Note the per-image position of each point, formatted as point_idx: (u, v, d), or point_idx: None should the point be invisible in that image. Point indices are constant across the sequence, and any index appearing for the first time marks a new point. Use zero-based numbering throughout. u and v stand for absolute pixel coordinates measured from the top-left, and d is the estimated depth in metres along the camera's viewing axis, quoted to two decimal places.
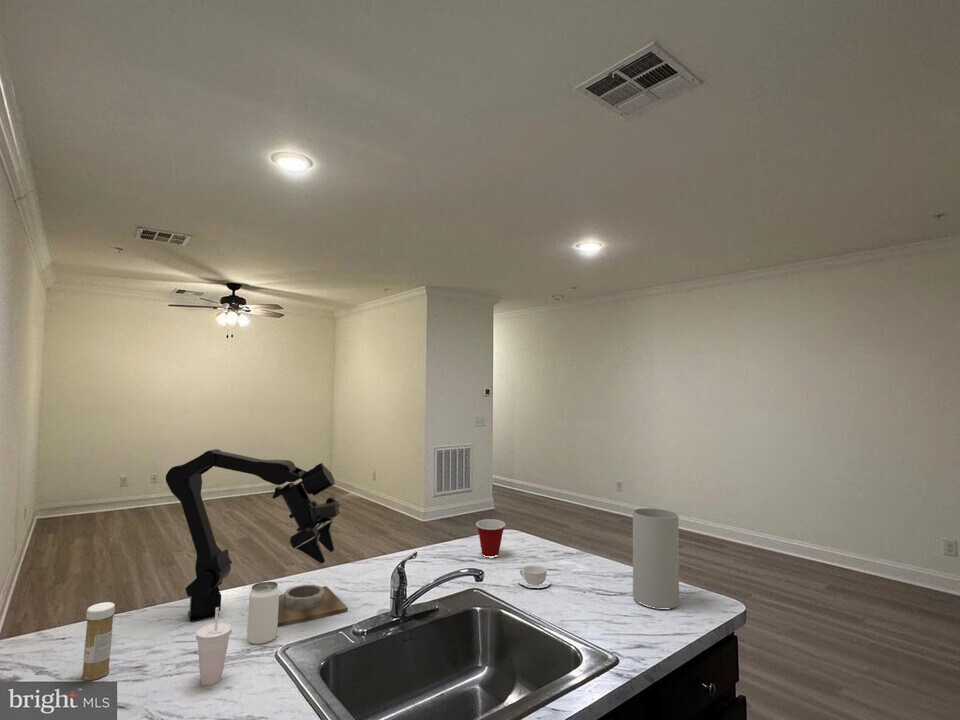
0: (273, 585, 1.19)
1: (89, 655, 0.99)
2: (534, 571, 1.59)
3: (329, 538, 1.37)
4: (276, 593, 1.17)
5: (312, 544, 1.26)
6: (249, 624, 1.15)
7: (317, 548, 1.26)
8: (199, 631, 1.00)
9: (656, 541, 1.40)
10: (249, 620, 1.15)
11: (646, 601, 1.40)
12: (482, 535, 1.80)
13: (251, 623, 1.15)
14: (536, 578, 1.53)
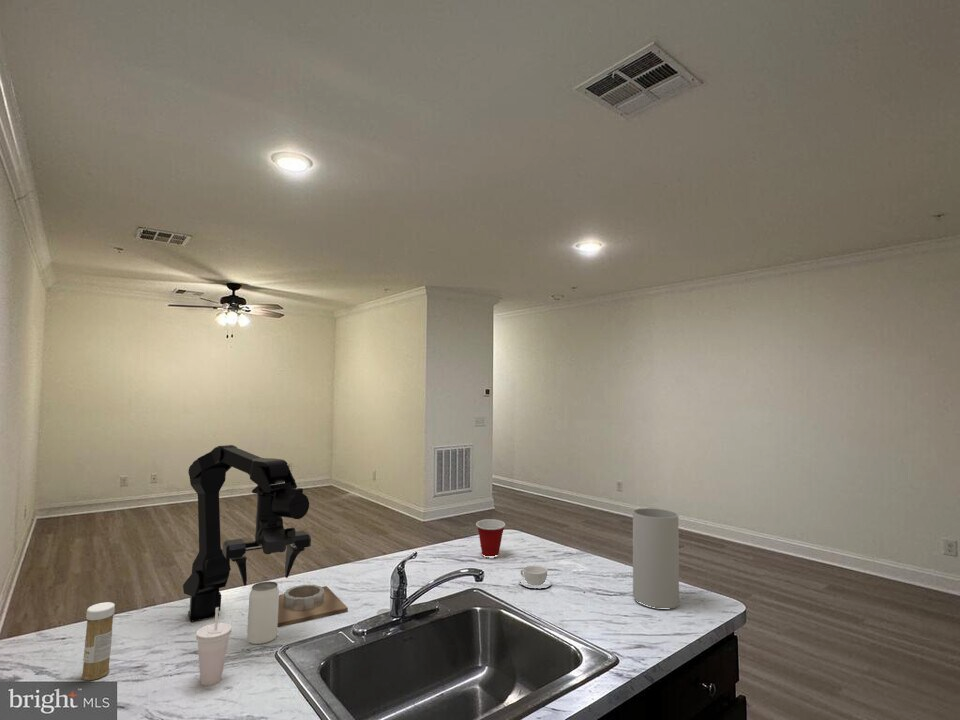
0: (273, 585, 1.19)
1: (89, 655, 0.99)
2: (535, 571, 1.59)
3: (288, 564, 1.21)
4: (276, 593, 1.17)
5: None
6: (249, 624, 1.15)
7: (240, 569, 1.15)
8: (199, 631, 1.00)
9: (656, 541, 1.40)
10: (249, 620, 1.15)
11: (646, 601, 1.40)
12: (482, 535, 1.80)
13: (251, 623, 1.15)
14: (536, 579, 1.53)
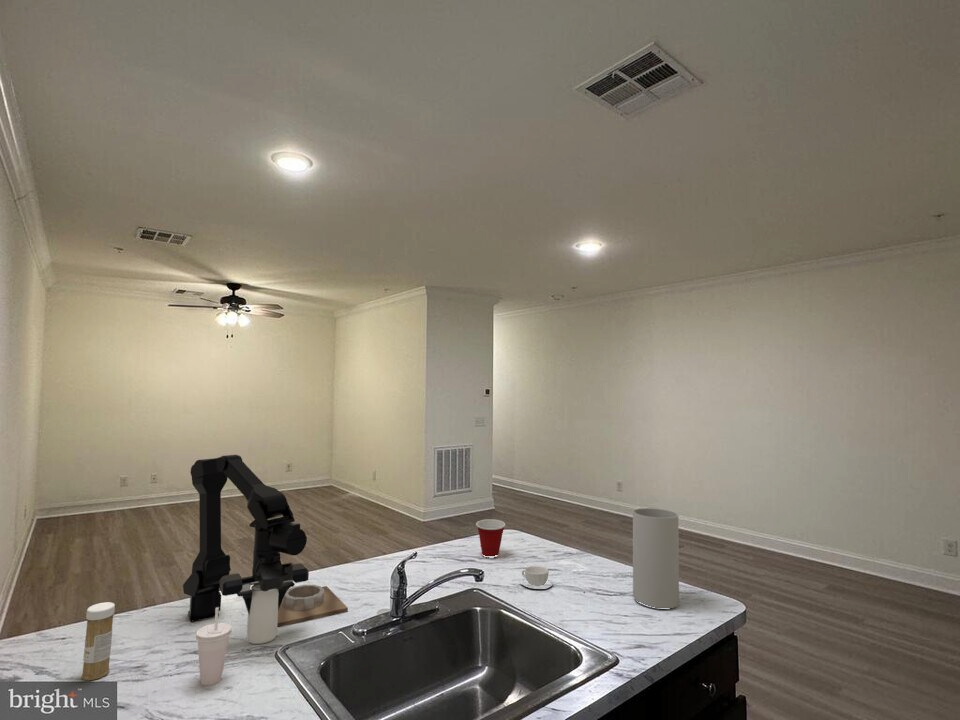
0: None
1: (89, 655, 0.99)
2: (536, 572, 1.59)
3: None
4: (276, 593, 1.17)
5: None
6: (249, 624, 1.15)
7: (246, 603, 1.15)
8: (199, 631, 1.00)
9: (656, 541, 1.40)
10: (249, 620, 1.15)
11: (646, 601, 1.40)
12: (482, 535, 1.80)
13: (251, 623, 1.15)
14: (538, 579, 1.52)
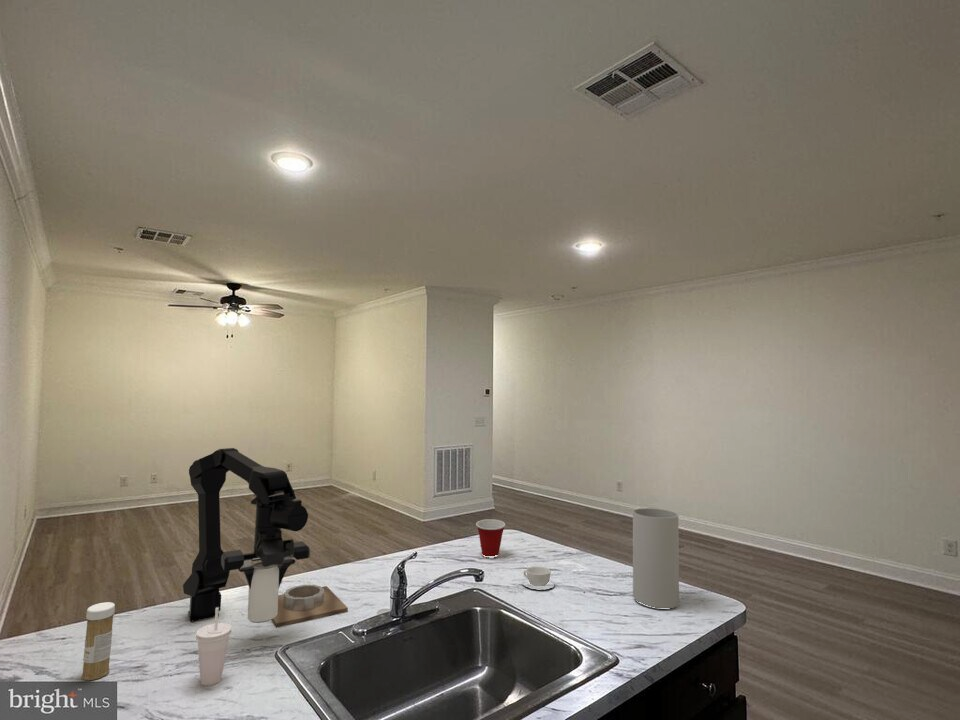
0: None
1: (90, 655, 0.99)
2: (538, 572, 1.58)
3: None
4: (276, 572, 1.18)
5: None
6: (249, 602, 1.15)
7: (247, 579, 1.15)
8: (199, 631, 1.00)
9: (656, 541, 1.40)
10: (249, 598, 1.16)
11: (646, 601, 1.40)
12: (482, 535, 1.80)
13: (251, 601, 1.15)
14: (540, 580, 1.52)
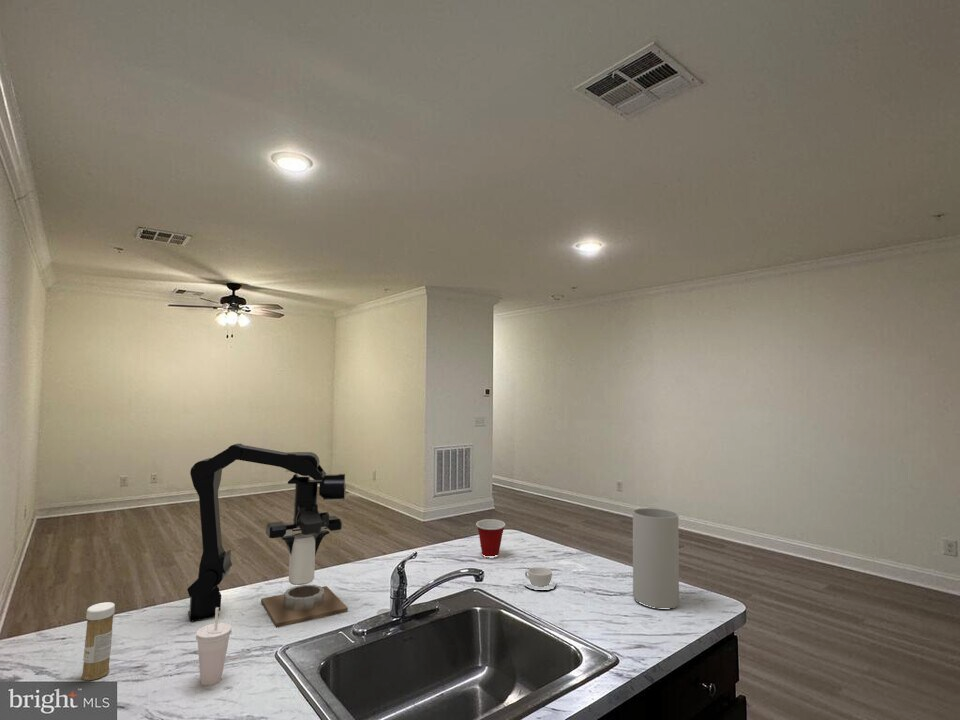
0: (310, 535, 1.36)
1: (90, 655, 0.99)
2: (539, 573, 1.58)
3: None
4: (313, 541, 1.34)
5: None
6: (290, 567, 1.32)
7: (288, 546, 1.32)
8: (199, 631, 1.00)
9: (656, 541, 1.40)
10: (290, 564, 1.32)
11: (646, 601, 1.40)
12: (482, 535, 1.80)
13: (292, 566, 1.32)
14: (541, 580, 1.51)
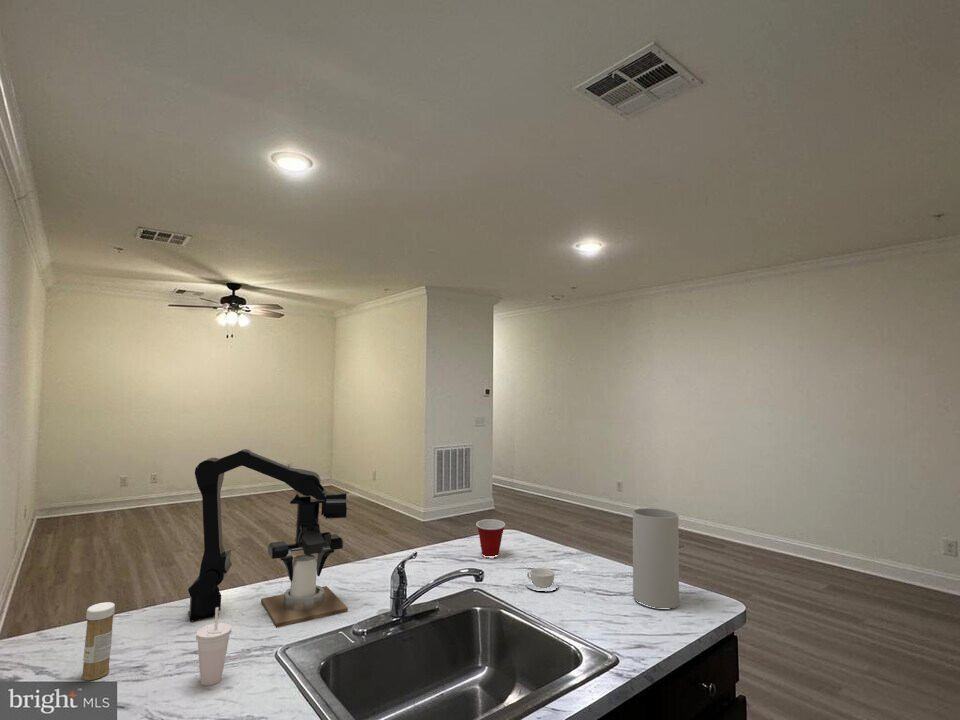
0: (311, 557, 1.37)
1: (90, 655, 0.99)
2: (541, 574, 1.57)
3: (319, 564, 1.37)
4: (314, 564, 1.35)
5: None
6: (291, 590, 1.33)
7: (287, 567, 1.33)
8: (199, 631, 1.00)
9: (656, 541, 1.40)
10: (291, 586, 1.33)
11: (646, 601, 1.40)
12: (482, 535, 1.80)
13: (293, 589, 1.33)
14: (544, 581, 1.50)
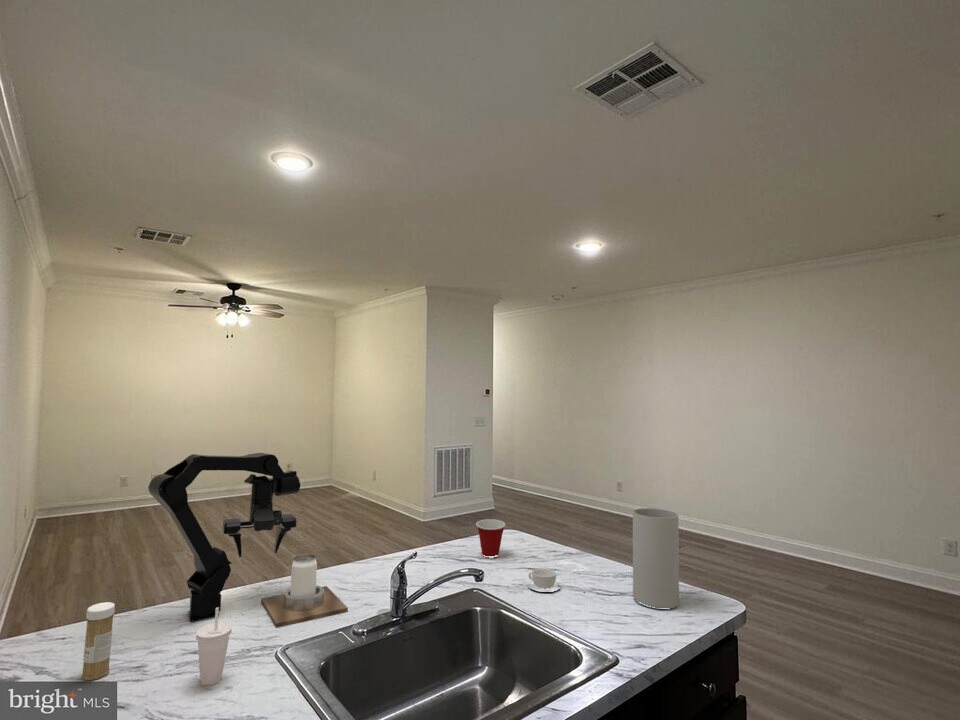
0: (311, 557, 1.37)
1: (89, 655, 0.99)
2: (543, 574, 1.56)
3: (277, 541, 1.43)
4: (314, 564, 1.35)
5: None
6: (291, 590, 1.33)
7: (236, 543, 1.37)
8: (199, 631, 1.00)
9: (656, 541, 1.40)
10: (291, 586, 1.33)
11: (646, 601, 1.40)
12: (482, 535, 1.80)
13: (293, 589, 1.33)
14: (545, 582, 1.50)
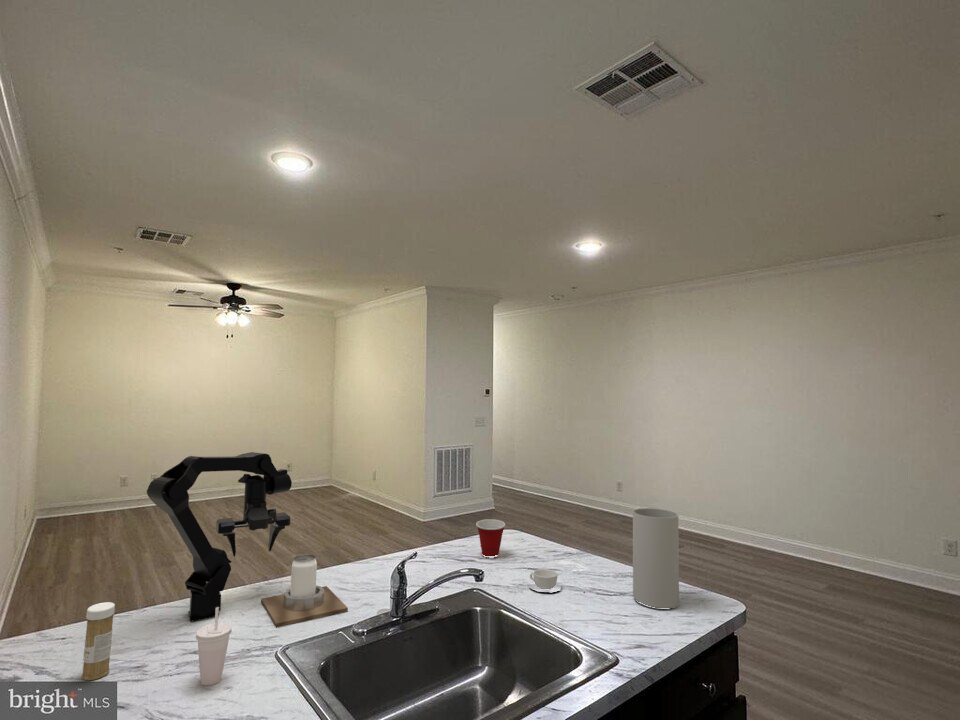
0: (311, 557, 1.37)
1: (90, 655, 0.99)
2: (544, 575, 1.56)
3: (271, 539, 1.44)
4: (314, 564, 1.35)
5: None
6: (291, 590, 1.33)
7: (230, 542, 1.38)
8: (199, 631, 1.00)
9: (656, 541, 1.40)
10: (291, 586, 1.33)
11: (646, 601, 1.40)
12: (482, 535, 1.80)
13: (293, 589, 1.33)
14: (547, 582, 1.49)
